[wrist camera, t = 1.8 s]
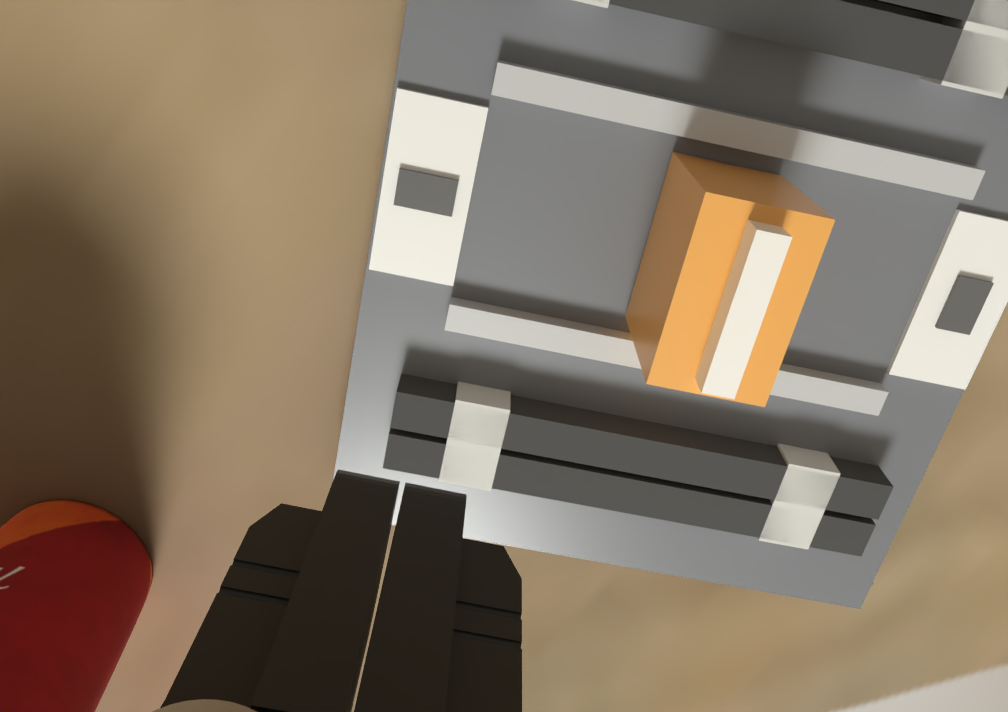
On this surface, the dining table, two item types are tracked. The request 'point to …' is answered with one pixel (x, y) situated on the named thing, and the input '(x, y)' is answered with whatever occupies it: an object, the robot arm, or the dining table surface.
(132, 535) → the paper cup
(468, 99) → the breaker panel
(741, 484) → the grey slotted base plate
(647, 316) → the block
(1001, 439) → the dining table surface
